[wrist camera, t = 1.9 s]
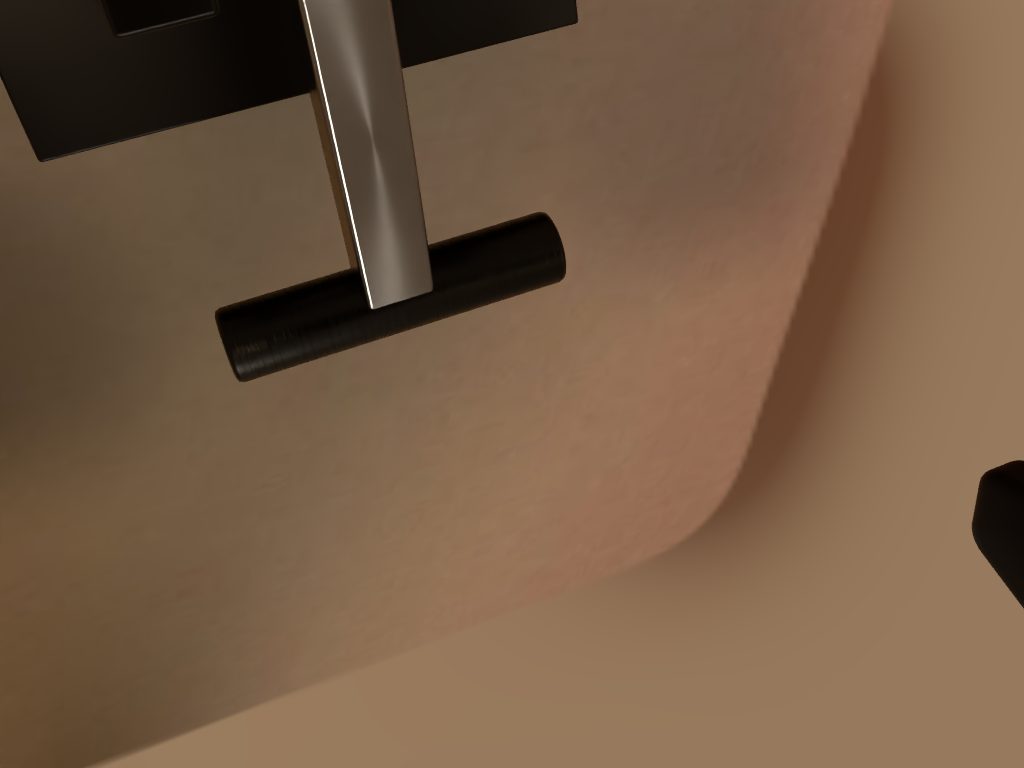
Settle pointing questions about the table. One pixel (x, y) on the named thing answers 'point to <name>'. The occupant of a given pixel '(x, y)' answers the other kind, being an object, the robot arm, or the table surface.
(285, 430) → the table surface
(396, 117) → the switch lever
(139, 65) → the lever bracket
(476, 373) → the table surface
